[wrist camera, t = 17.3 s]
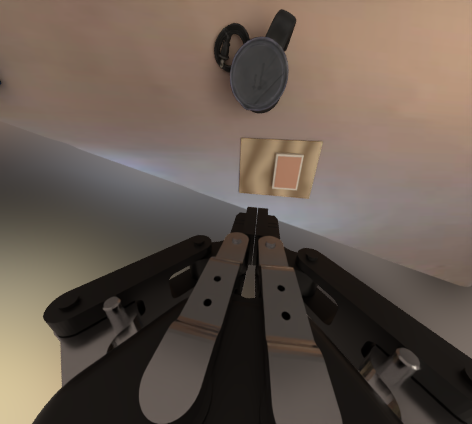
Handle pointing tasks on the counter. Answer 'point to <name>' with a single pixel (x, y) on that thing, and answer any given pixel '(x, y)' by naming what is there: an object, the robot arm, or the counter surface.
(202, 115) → the counter surface
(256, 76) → the milk frother
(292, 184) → the card box
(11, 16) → the counter surface
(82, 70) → the counter surface
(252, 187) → the mat
